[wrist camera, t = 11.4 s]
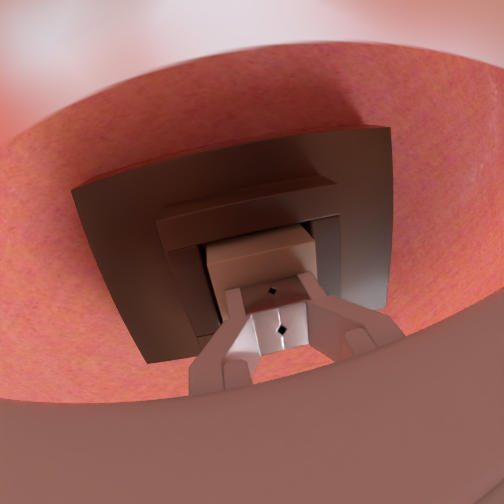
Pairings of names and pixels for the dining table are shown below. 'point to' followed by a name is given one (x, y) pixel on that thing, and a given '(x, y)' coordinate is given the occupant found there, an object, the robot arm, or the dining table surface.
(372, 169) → the block
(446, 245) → the dining table surface
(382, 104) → the dining table surface
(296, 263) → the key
